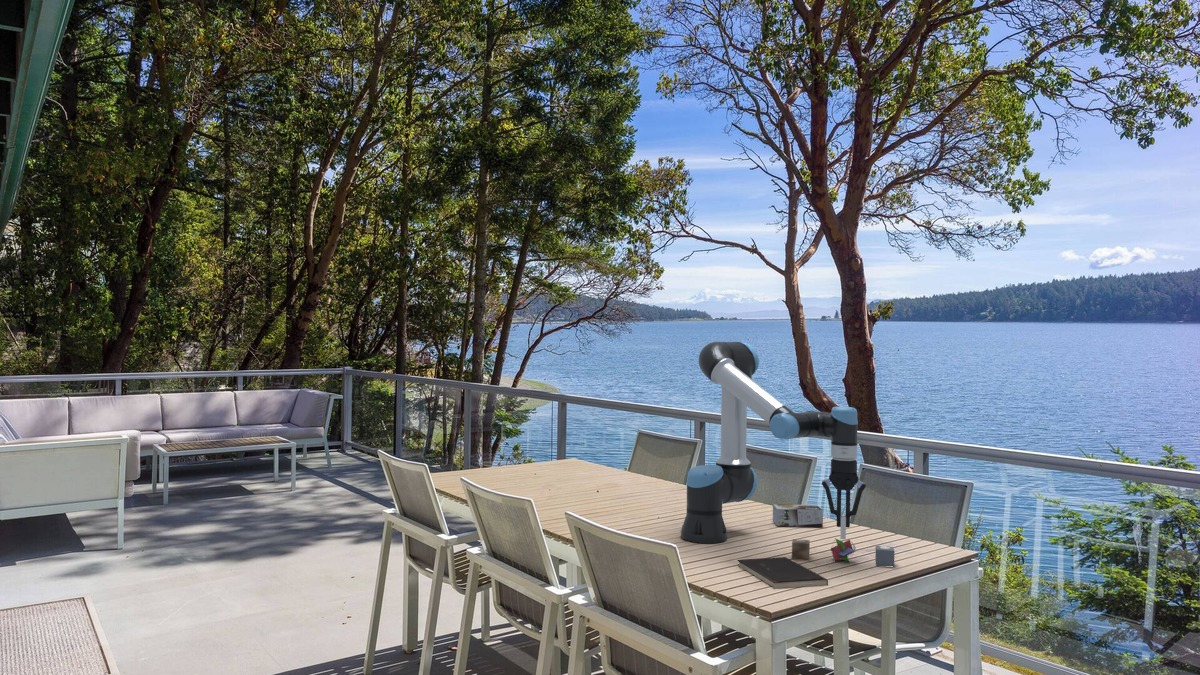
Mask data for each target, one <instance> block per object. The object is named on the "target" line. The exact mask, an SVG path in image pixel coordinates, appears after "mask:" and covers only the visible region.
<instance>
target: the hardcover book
mask: <svg viewBox="0 0 1200 675" xmlns="http://www.w3.org/2000/svg"><path fill="white" fill-rule="evenodd" d="M736 561H737V562H738V567H740V568H742V569H743V570H745V571H746V572H748V573H750V574H751V575H753V576H755V577H756V578H757V579H760V581H763V582H764V583H766V584H768V585H770V587H772V588H773V589H784V588H786V589H787V588H798V587H799V588H801V587H814V586H815V587H816V586H826V585H827V586H828V584H829V581H828V579H827V578H826V577H824V576H822V575H821V574H819V573H816V572H814V571H812V570H810V569H809V568H807V567H805V566H803V565H802V564H800V563H798V562H796V561H795V560H793V559H789V558H788V557H786V556H782V557H779V556H778V557H763V558H746V559H745V558H744V559H737V560H736Z"/></svg>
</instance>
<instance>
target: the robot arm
mask: <svg viewBox="0 0 1200 675" xmlns="http://www.w3.org/2000/svg"><path fill="white" fill-rule="evenodd" d="M699 352H700V353H699V355H698V365H699V369H700V371H701V372H702V374H704V376H705V377H706V378H707V379H708V380H710V381H711V382H712V383H713V384H715V385H720V386H721V393H720V395H721V396H720V397H721V399H720V401H721V403H720V406H721V407H720V408H721V409H720V457H719V458H718V459H716V461H715V464H701V465H696V466H693V467H691V468H689V470H688V471H687V479H686V515H685V518H684V521H683V524H682V527H681V529H680V538H681V539H682V538H683V539H682V540H684V539H685V540H684V541H687V540H688V541H687V542H690V541H692V543H697V542H699V543H698V544H720V543H724V542H726V541H727V539H728V530H727V527H726V524H725V521H724V518H723V504H729V503H735V502H736V503H740V502H744V501H746V500H749V499H750V498H751V497H752V496H754V494H755V493H756V491H757V487H758V476H757V474H756V473H755V470H754V469H753V468H752V467H751V466H752V465H751V464H752V463H751V461H750V460H749V459H748V458H747V430H748V429H747V422H748V421H747V420H748V419H747V418H748V417H747V416H748V415H747V413H748V412H747V410H748V408H749V409H750V410H751V411H753V413H755V414H756V415H757V416H759V417H760V418H761V419H762V420H763V421H765V422H766V423H767V424H768V425H769V429H770V431H771V434H772V435H773V437H775V438H777V439H780V440H792V439H798V438H799V439H800V438H811V437H821V438H823V437H824V438H830V443H831V444H830V457H831V460H830V474H829V476H828V478H826V479H825V480H822V481H821V485H822V487H823V489H824V490H825V494H826V499H827V503H828V506H829V512H830V514H831V515H835V516H836V527H838V528H840V538H839V539H840V540H846V538H847V537H846V536H847V528H850V527H851V517H853V516H856V515H857V512H858V509H859V505H860V501H861V499H862V498H861V497H862V493H863V491H864V490H865V489H866V488H867V485H866V483H865V482H863V481H861V480H860V479H859V475H858V460H856V459H857V458H858V426H859V421H858V410H857V409H856V408H855V407H852V406H851V407H850V406H833V407H832V409H831V411H830V412H827V411H817V410H816V411H815V410H802V411H801V410H800V412H794V411H793V410H792V409H790V408H789V407H788V406H786V405H785V404H784V403H782V401H780V400H779V399H777V398H776V397H775V396H774V395H772V394H771V393H770V392H768V391H767V390H766V389H765V388H764V387H763V386H761V385H760V384H758V383H757V382H756V381H755V380H754V379H753V378H752V377H753V375H755V373H756V371H758V369H759V365H760V359H759V356H758V353H757V350H756V349H755V348H754V346H753V345H751V344H749V343H746V342H742V341H741V342H740V341H713V342H709V343H707V344H706V345H704V347H703V348H702V349H701V350H700V351H699ZM831 484H832V485H833V487H834V488H835V489H836V509H835V507H834V506H835V505H834V501H833V498H832V493H831V488H830V487H831ZM856 484H857V485H856ZM855 486H857V492H856V495H855V498H854V503H853V506H852V510H851V490H853V489H854V487H855ZM842 491H845V514H844V515H843V514H842Z"/></svg>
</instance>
